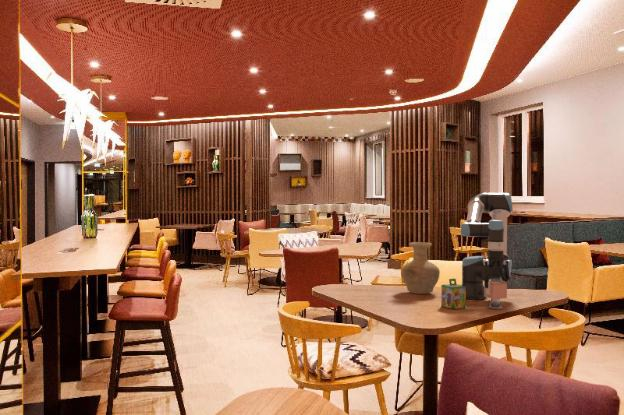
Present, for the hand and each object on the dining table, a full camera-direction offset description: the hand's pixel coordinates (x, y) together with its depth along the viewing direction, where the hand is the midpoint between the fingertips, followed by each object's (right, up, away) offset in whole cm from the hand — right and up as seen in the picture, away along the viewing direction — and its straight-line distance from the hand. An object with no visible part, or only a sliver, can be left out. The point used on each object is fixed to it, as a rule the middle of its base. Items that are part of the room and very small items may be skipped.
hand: (495, 293), depth 274 cm
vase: (-30, -7, +42) cm, 52 cm away
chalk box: (-21, -8, +2) cm, 22 cm away
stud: (0, -7, 0) cm, 7 cm away
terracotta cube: (0, -2, 0) cm, 2 cm away
